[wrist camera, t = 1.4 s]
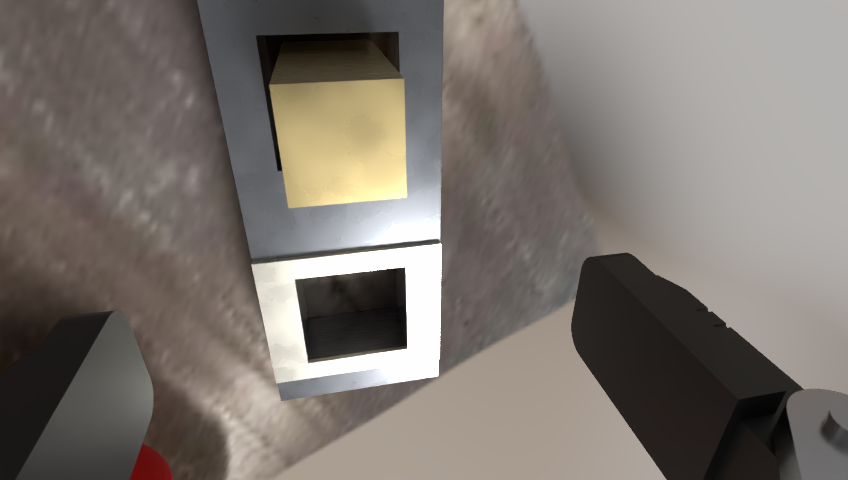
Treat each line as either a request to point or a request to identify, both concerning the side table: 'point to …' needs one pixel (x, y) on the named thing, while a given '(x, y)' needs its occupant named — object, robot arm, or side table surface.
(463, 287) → the side table surface
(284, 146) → the brass block
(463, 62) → the side table surface
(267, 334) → the grey peg holder block
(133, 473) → the red two-lobed part
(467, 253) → the side table surface
